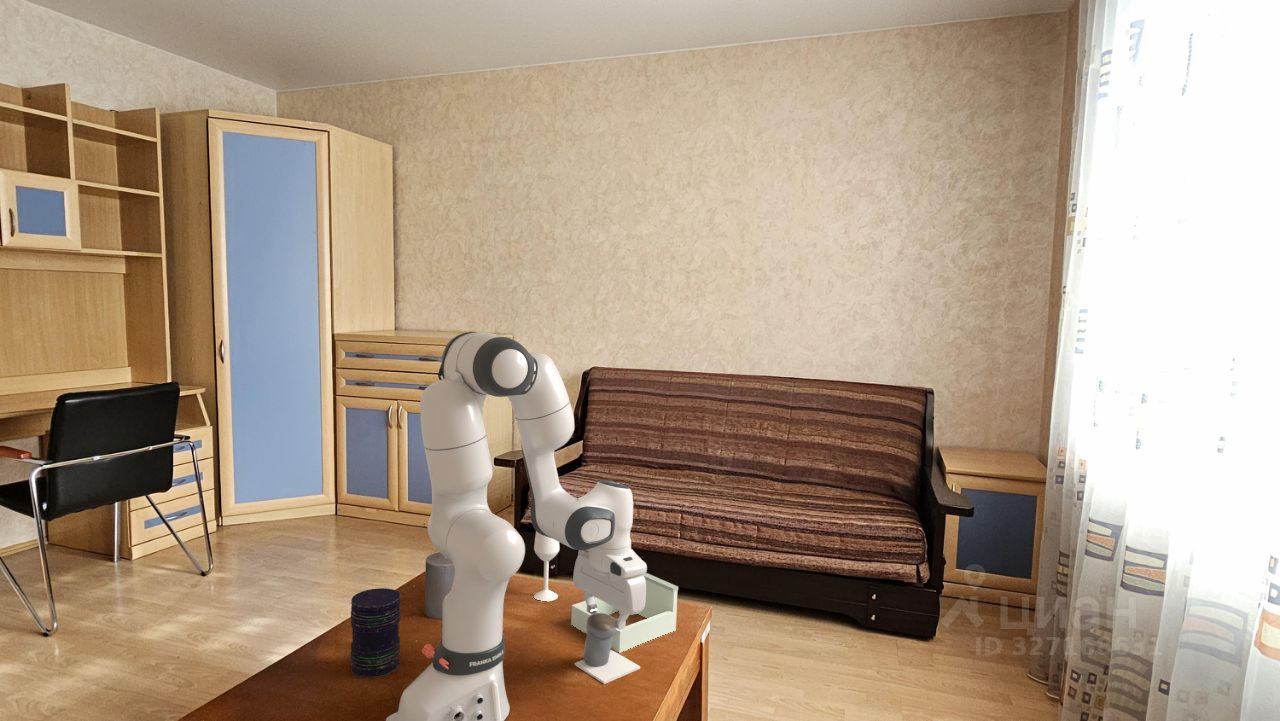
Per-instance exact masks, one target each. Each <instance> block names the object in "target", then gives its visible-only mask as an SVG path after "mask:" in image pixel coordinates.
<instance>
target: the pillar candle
mask: <svg viewBox="0 0 1280 721" xmlns="http://www.w3.org/2000/svg"><path fill="white" fill-rule="evenodd" d="M424 574H425V576H424V577H425V578H424V579H425V581H424V614H425V616H426V617H428V618H431V619H437V620H442V613H443V601H444V598H445V597H446V595H447V594H448V593H449V592H450V591H451V589H452V585H453V581H454V577H455V568H454V565H453V562H452V561H451V560H449V559H448V558H447V557H445V556H444V555H442V554H441V553H440V552H439V551H438V552H435V553H431V554H429V555H427V556H426V558H425V573H424Z"/></svg>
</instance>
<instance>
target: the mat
mask: <svg viewBox="0 0 1280 721" xmlns="http://www.w3.org/2000/svg"><path fill="white" fill-rule="evenodd" d="M574 666H576V667H577V668H579V669H581V670H582V671H584V673H586V674H588V675H589V676H590V677H592V678H594V679H596V680H598V681H599V682H600V683H602V684H603V685H605V684H608V683H610V682H613V681H615V680H617V679H619V678H622V677H624V676H626V675H630V674H631V673H633V672H636V671H638V670H640V669H641V666H640V665H638V664H637V663H635V662H633V661H632V660H630V659H628V658H626V657H625V656H623V655H621V653H618V652H616V651H615V650H613V649H610V655H609V660H608V663H607V664H605V665H604V666H599V667H596V666H591V665H589V664H587V663H586V662H585V661H584V659H581V660H579V661H576V662H574Z"/></svg>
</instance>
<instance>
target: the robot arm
mask: <svg viewBox="0 0 1280 721" xmlns="http://www.w3.org/2000/svg"><path fill="white" fill-rule="evenodd" d="M441 356H442V357H441V364H440V366H439V369H438V375H437V377H438V380H437V381H435V382H433V383H431V384H430V385H428V386H427V387H426V388H425V389H424V390H423V391H422V393H421V395H420V400H419V401H420V404H419V405H420V407H419V408H420V410H419V412H420V429H421V436H422V437H421V438H422V443H423V448H424V454H425V457H426V458H425V459H426V464H427V470H428V474H429V479H430V485H431V514H430V516H429V519H428V522H427V534H428V536H429V539H430V540H431V542H432V543H431V544H433V546H434V548H436V551H438V552H440V553H441V554H442V555H444V556H445V557H447V558H448V559H449V560H451V561H452V562H453V565H454V568H455V577H454V581H453V585H452V589H451V591H450V592H449V593H448V594H447V595H446V597H445V598H444V601H443V613H442V619H441V620H442V622H441V623H442V624H441V625H442V626H441V628H442V630H441V632H442V633H441V639H440V641H439V643H438V645H437V649H436V648H435V647H433V645H432V644H431V643H427V644H425V645H424V646H423V647H422V649H421V652H422V653H421V654H423V656H425V657H426V658H427V659H432V658H433V659H432V662H431V664H429V665H428V666H427V667H426V668H425V669H424V671H422V672H421V673H420V674H419V675H418V676H417V677H416V678H415V679H414V680H413V681H412V682H411V683H410V684H409V685H408V686H407V687H406V688H405V689H404V690H403V692H402V693H401V696H400V700H399V704H398V710H397V711H396V712H394V713H392V714H390V715H388V716H387V717H386V719H385V721H505V720H506V718H508V716H509V714H510V709H511V708H510V702H509V700H508V697H507V692H506V687H505V686H506V685H505V679H504V667H503V663H504V659H505V651H506V650H505V649H506V647H505V645H506V644H505V635H504V634H503V628H504V627H503V622H504V601H505V595H506V591H507V587H508V585H509V582H510V578H511V577H513V576H514V575H515V574H516V573H517V572H518V570H520V568H521V566H522V564H523V562H524V558H525V554H526V544H525V542H524V539H523V537H522V536H521V535H520V533H519V532H518V531H517V529H515V528H514V526H513V525H512V524H511V523H510V522H509V521H507V520H505V519H504V518H502V517H500V516H498V515H496V514H494V513H493V512H492V511H491V509H490V507H489V504H488V485H489V483H490V481H492V478H493V475H494V470H493V469H494V468H493V465H492V458H491V453H490V449H489V442H488V437H487V432H486V426H485V421H484V418H483V416H484V415H483V414H484V409H483V408H484V404H485V400H486V398H487V395H488V396H492V397H496V398H497V397H498V398H503V397H507V398H508V400H509V402H510V404H511V409H512V412H513V416H514V419H515V422H516V426H517V428H518V432H519V435H520V444H521V445H520V446H521V447H520V448H521V454H522V459H523V462H524V467H525V471H526V476H527V480H528V484H529V489H530V490H529V491H530V496H531V499H530V500H531V502H530V522H531V524H532V527H533V529H534V530H535V532H536V531H537V532H538V533H539V534H541V535H543V536H546V537H549V538H552V539H554V540H556V541H558V542H559V544H560V543H561V544H562V545H565V546H567V547H569V548H571V549H573V550H577V551H578V553H577V558H576V560H575V564H574V569H573V576H572V582H573V585H574V587H575V588H577V589H579V590H581V591H583V598H584V601H586V604H587V612H588V613H590V614H595V613H596V612H597V605H596V604H595V600H594V598H598V599H600V600H602V601H604V602H606V603H608V604H610V605H612V606H614V607H616V608H617V609H619V612H618V615H619V617H618V618H614V619H615V627H616V628H618V629H619V630H621V629H624V628H625V626H626V621H627V620H628V618H629V616H633V615H637V613H640V612H641V611H642V610H643V609H644V607H645V601H646V581H645V578H644V576H643V575H642V574H644V573H647V572H648V571H647V570H648V566H647V563H646V562H645V561H644V560H642V558H641V557H640V556H639V555H638V554H637V553H636V552H635V551H634V550H633V548H632V539H631V530H632V527H633V523H634V522H633V521H634V499H633V498H634V497H633V492H632V490H631V488H630V487H629V486H628V485H626V484H624V483H621V482H618V481H615V480H610V479H609V480H608V479H602V480H598V481H597V482H596V484H595V486H593V488H592V489H590V491H588V492H586V494H583V495H582V496H580V497H578V498H577V497H575V496H573V495H571V494H569V493H568V492H567V491H566V490H565V488H563V487H562V486H561V483H560V480H559V479H560V478H559V474H558V470H557V465H556V458H555V451H556V450H558V449H560V448H561V447H563V446H565V444H567V443H568V442H569V441H570V439H571V438H572V435H573V434H574V431H575V416H574V412H573V411H574V410H573V407H572V404H571V401H570V398H569V394H568V391H567V389H566V386H565V383H564V380H563V378H562V376H561V373H560V372H559V370H558V368H557V366H556V363H555V362H554V360H553V359H552V358H551V357H550V356H549V355H547V354H545V353H542V352H535V351H533V352H528V350H527V349H526V348H525V347H524V345H522V344H521V343H520V342H518V341H517V340H515V339H513V338H510V337H507V336H501V335H497V334H495V333H492V332H482V331H480V332H478V331H477V332H475V331H467V332H464V333H459V334H457V335H456V336H454V337H453V338H451V339H450V340H449V341H448V343H447V344H446V345H445V347H444V349H443V352H442V355H441ZM442 378H443V379H442Z"/></svg>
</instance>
